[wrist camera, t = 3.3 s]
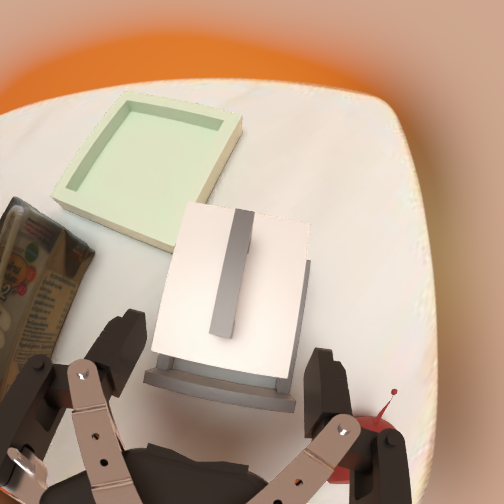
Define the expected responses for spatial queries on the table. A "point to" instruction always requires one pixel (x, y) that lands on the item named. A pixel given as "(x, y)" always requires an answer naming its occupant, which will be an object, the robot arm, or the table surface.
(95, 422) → the robot arm
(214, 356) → the white tall block
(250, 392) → the bay
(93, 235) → the table surface
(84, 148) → the tray
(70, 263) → the beverage carton
